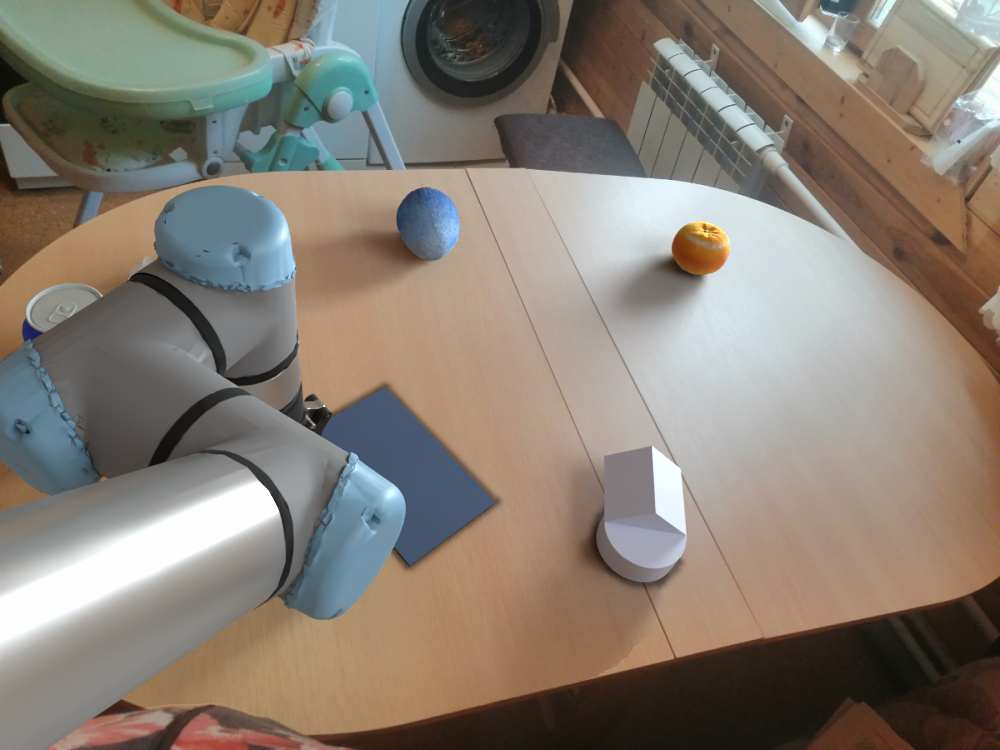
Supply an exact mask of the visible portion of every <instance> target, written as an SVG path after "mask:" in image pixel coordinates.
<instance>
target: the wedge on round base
mask: <svg viewBox="0 0 1000 750" xmlns="http://www.w3.org/2000/svg"><path fill="white" fill-rule="evenodd" d="M603 475H604V476H603V482H604V484H603V486H604V487H603V489H604V491H603V492H604V493H603V495H604V497H603V498H604V500H603V501H604V504H603V505H604V506H603V507H604V509H603V510H604V511H603V512H604V514H603V515H602V517H601V520H600V521H599V522H598V526H597V528H596V534H595V535H596V536H595V538H596V539H595V540H596V546H597V549H598V552H599V555H600V557H601V558H602V560H603V561H604V563H605V564H606V565H607V567H609V568H610V569H611V570H612V571H613V572H615V573H616V574H617V575H619V576H621V577H622V578H625V579H627V580H630V581H632V582H638V583H651V582H655V581H658V580H660V579H662V578H664V577H665V576H666V575H667V574H669V572H670V571H671V570H672V568H673V567H674V566H675V565H676V563H677V562H678V561H679V559H680V558H681V557H682V556H683V554H684V552H685V550H686V547H687V542H688V541H687V540H688V539H687V537H688V535H687V525H686V512H685V502H684V501H685V500H684V491H683V478H682V469H681V468H680V467H679V466H678V465H676V464H675V463H674V461H672V460H671V459H669V458H668V457H667V456H666V455H664V454H663V453H662V452H660V450H659V449H656V447H654V446H653V445H650V446H645V447H640V448H635V449H631V450H626V451H621V452H616V453H611V454H607V455H603Z"/></svg>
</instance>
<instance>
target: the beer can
mask: <svg viewBox="0 0 1000 750" xmlns="http://www.w3.org/2000/svg"><path fill="white" fill-rule="evenodd" d="M102 296H103V295H102V294H101V292H99V290H97V289H96V288H94V287H93V286H90V285H88V284H84V283H78V282H77V283H76V282H66V283H60V284H55V285H52V286H49V287H46V288H44V289H42V290H41V291H38V292H37V293H36V294H35V295H33V296H32V297H31V298H30V299H29V301H28V302H27V304H26V305H25V309H24V317H25V318H24V320H23V323H22V327H21V337H22V339H23V343H24V342H25V341H27V340H29V339H31V340H33V339H35V338H36V337H38V336H40V335H41V334H43V333H45V332H46V331H48V330H50V329H51V328H53V327H54V326H56V325H58V324H59V323H61V322H62V321H64V320H66V319H67V318H69V317H70V316H72V315H74V314H75V313H77V312H78V311H80V310H82V309H83V308H85V307H86V306H88V305H90V304H91V303H93V302H94V301H96V300H98V299H99V298H101V297H102Z"/></svg>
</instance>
